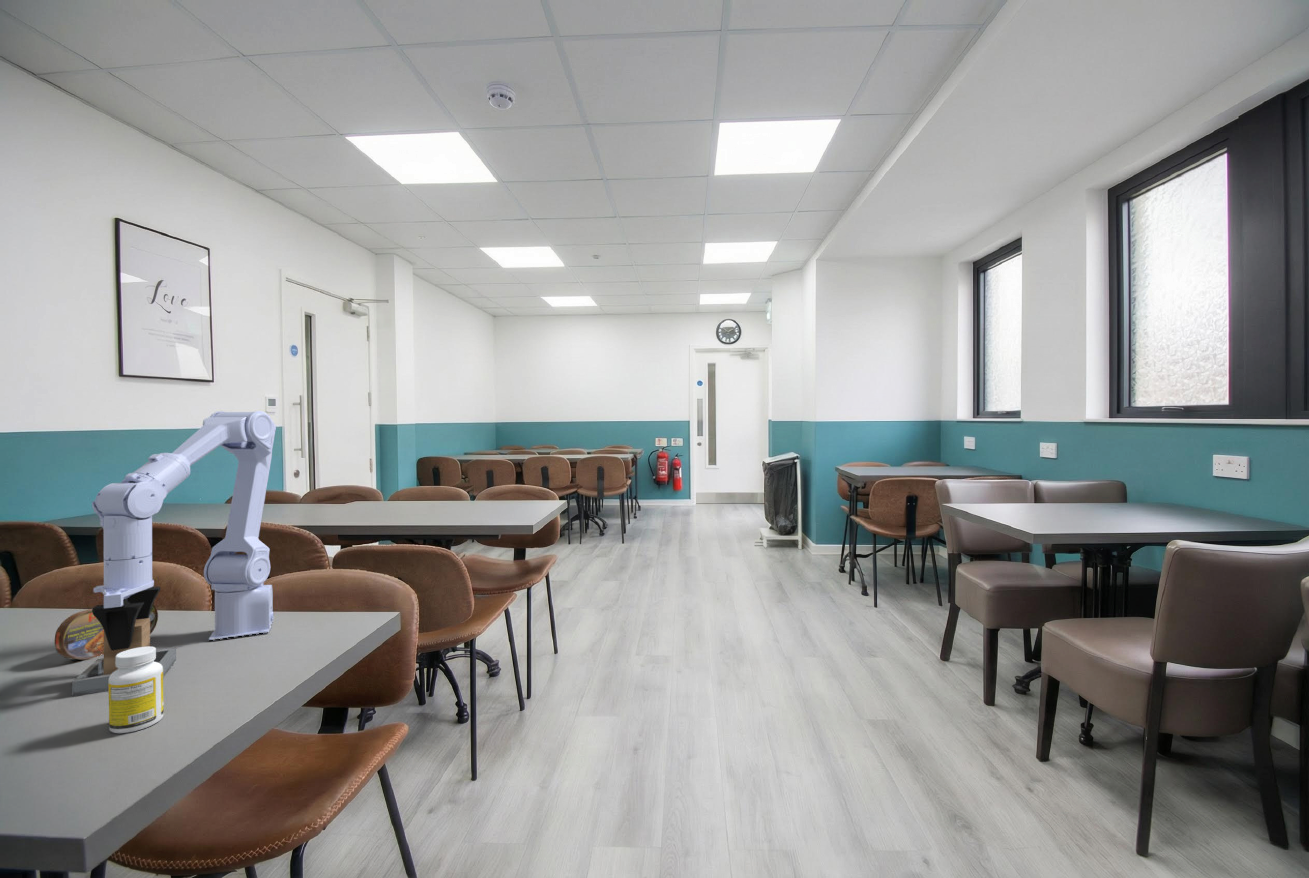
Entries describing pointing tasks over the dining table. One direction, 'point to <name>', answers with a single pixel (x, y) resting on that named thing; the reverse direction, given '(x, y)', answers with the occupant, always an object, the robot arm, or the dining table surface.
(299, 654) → the dining table surface
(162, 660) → the tray
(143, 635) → the block
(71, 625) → the tin
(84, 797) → the dining table surface
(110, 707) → the supplement bottle
